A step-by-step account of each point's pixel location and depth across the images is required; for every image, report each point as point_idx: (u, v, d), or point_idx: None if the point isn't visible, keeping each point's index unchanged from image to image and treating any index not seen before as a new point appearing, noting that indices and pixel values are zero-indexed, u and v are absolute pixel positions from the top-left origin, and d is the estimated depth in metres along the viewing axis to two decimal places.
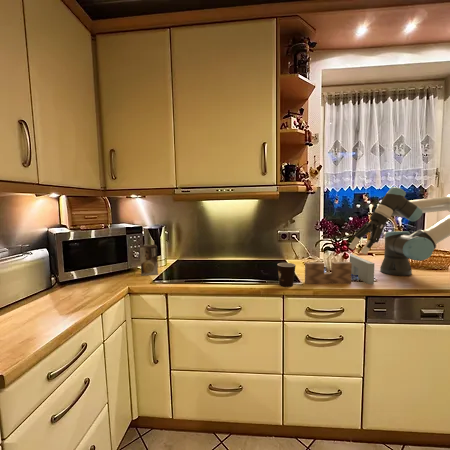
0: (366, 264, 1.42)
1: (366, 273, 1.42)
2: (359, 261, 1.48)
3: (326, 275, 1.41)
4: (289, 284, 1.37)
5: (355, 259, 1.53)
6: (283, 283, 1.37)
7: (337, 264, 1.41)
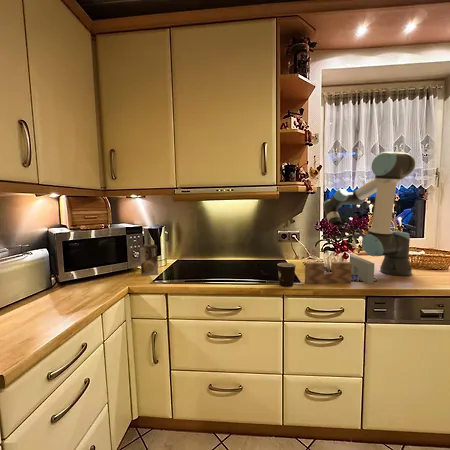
0: (366, 264, 1.42)
1: (366, 273, 1.42)
2: (359, 261, 1.48)
3: (326, 275, 1.41)
4: (289, 284, 1.37)
5: (355, 259, 1.53)
6: (283, 283, 1.37)
7: (337, 264, 1.41)
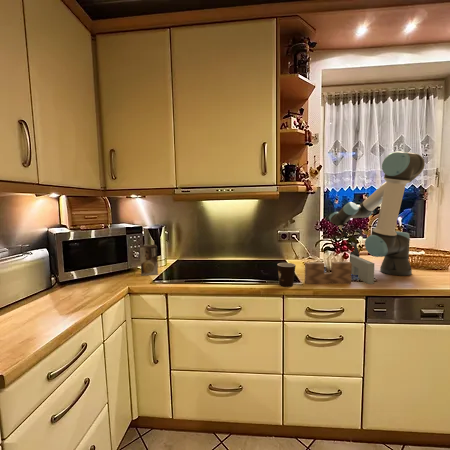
0: (366, 264, 1.42)
1: (366, 273, 1.42)
2: (359, 261, 1.48)
3: (326, 275, 1.41)
4: (289, 284, 1.37)
5: (355, 259, 1.53)
6: (283, 283, 1.37)
7: (337, 264, 1.41)
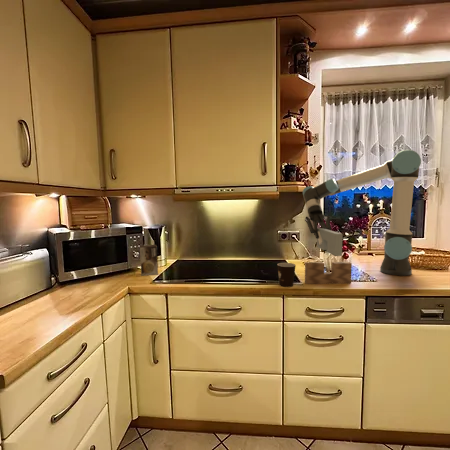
0: (334, 235, 1.31)
1: (334, 245, 1.31)
2: (328, 233, 1.38)
3: (326, 275, 1.41)
4: (289, 284, 1.37)
5: (325, 232, 1.42)
6: (283, 283, 1.37)
7: (337, 264, 1.41)
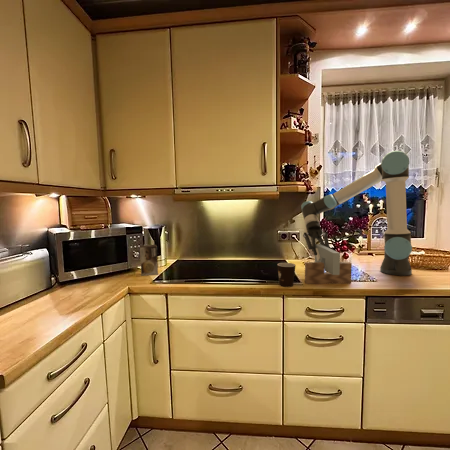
0: (332, 254, 1.32)
1: (331, 263, 1.32)
2: (326, 251, 1.39)
3: (326, 275, 1.41)
4: (289, 284, 1.37)
5: (322, 249, 1.43)
6: (283, 283, 1.37)
7: None
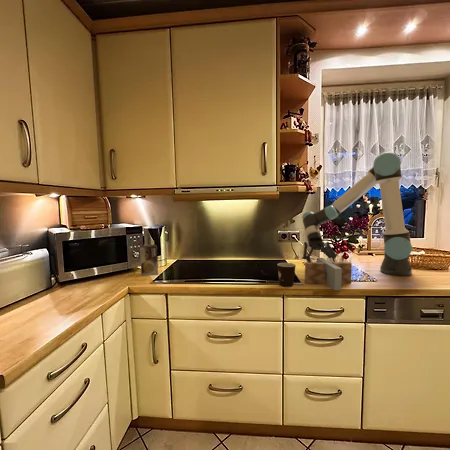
0: (333, 269, 1.32)
1: (333, 279, 1.33)
2: (327, 266, 1.39)
3: (326, 275, 1.41)
4: (289, 284, 1.37)
5: (324, 263, 1.43)
6: (283, 283, 1.37)
7: (337, 264, 1.41)
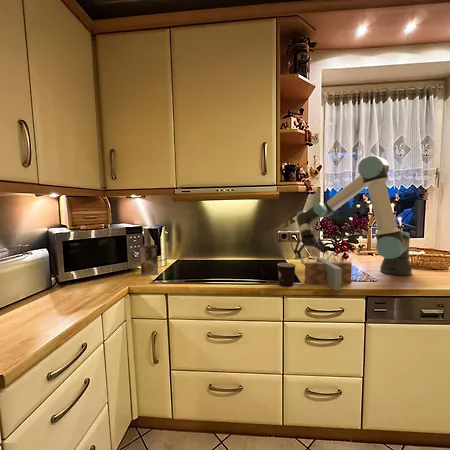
0: (333, 269, 1.32)
1: (333, 279, 1.33)
2: (327, 266, 1.39)
3: (326, 275, 1.41)
4: (289, 284, 1.37)
5: (324, 263, 1.43)
6: (283, 283, 1.37)
7: (337, 264, 1.41)
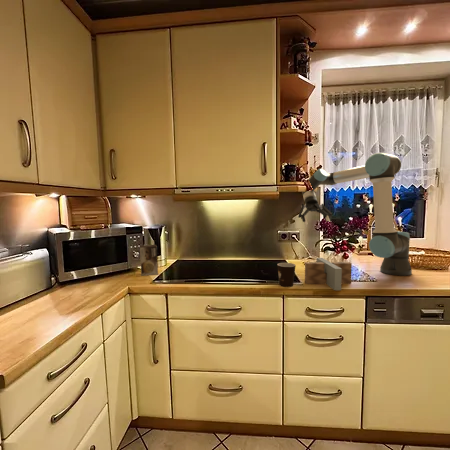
0: (333, 269, 1.32)
1: (333, 279, 1.33)
2: (327, 266, 1.39)
3: (326, 275, 1.41)
4: (289, 284, 1.37)
5: (324, 263, 1.43)
6: (283, 283, 1.37)
7: (337, 264, 1.41)
